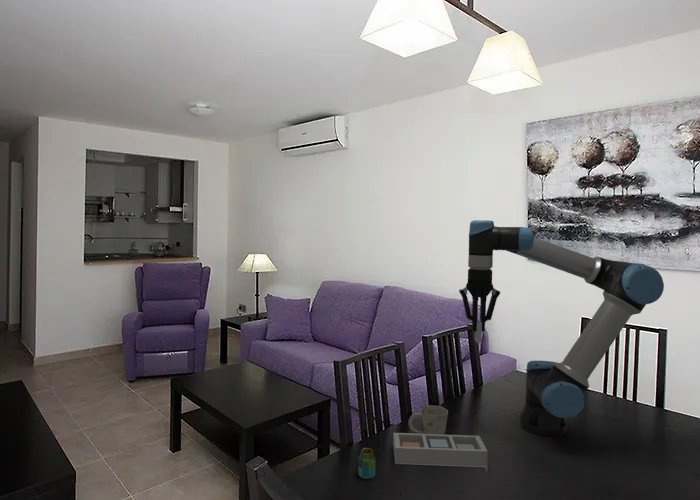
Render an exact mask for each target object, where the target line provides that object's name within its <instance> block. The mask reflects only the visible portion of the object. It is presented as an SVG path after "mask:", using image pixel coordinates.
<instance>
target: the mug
mask: <svg viewBox="0 0 700 500" xmlns="http://www.w3.org/2000/svg"><path fill="white" fill-rule="evenodd" d="M448 416H449V411H448V409H447V408H445V407H443V406H440V405H426V406H423V407H422V408H421V412H417V413H415V412H414V413H412V414H411V415H410V417H409V418H408V421H407V422H408V427H409V429H410V430H412V432H414V434H441V435H446V430H447V423H448ZM416 418H422V426H423V430H417V429H416V428H415V427H414V425H413V421H414V419H416Z"/></svg>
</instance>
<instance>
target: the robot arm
mask: <svg viewBox="0 0 700 500" xmlns="http://www.w3.org/2000/svg"><path fill="white" fill-rule="evenodd" d="M534 236H535V235H534V231H533V229H532V228H531V227H526V226H525V227H524V226H495V222H494V221H493V220H485V219H484V220H481V219H479V220H477V219H476V220H472V221H470V223H469V232H468V260H467V261H468V262H467V264H468V265H467V267H468V269H467V283H466V285H465V287H463V288H461V289H459V291H458V293H459V294H460V295H461V298H462V302H463V303H462V304H463V308H464V312H465V317H466V318H467V319H468V320H469V321H471V330H472V332H474V341H475V342H476V343H478V344H479V343H482V335H483V334H482V333H485V330H486V323H487V321H491V320H492V318H493V314H494V310H495V307H496V303H497V300H498V298H499V296H500V295H501V291H499V290H497V289H496V288H494V284H493V270H492V268H493V267H494V265H493V261H494V257H493V256H494V251H506V252H509V253H511V254H515V255H517V256H521V257H524V258H526V259H529V260H532V261H534V262H538V263H539V264H542V265H545V266H547V267H550V268H554V269H557V270H558V271H562V272H565V273H567V274H569V275H570V274H571V275H573V276H575V277H579V278H581V279H583V280H584V281H585V283H587V284H589V285H591V286H594V287H596V288H599V289H601V290H602V291H603V292H602V295H603V301H602V303H601V304H600V306H599V307H598V309H597V310H596V312H595V313H594V314H593V316H592V317H591V319H590V320H589V322H588V323H587V325H586V326H585V328H584V329H583V331H582V332H581V333H580V335H579V337H578V338H577V339H576V341H575V343H574V344H573V345H572V347H571V348H570V350H569V351H568V353H567V354H566V356H565V357H564V358H563V360H562V361H561V362H557V361H556V362H555V361H549V360H529V361H528V362H527V363H526V369H525V371H526V375H525V376H526V378H525V404H524V406H523V408H522V411H521V414H520V415H519V422H518V423H519V426H520V427H521V428H522V429H524V431H527V432H529V433H533V434H535V435H538V436H544V437H560V436H563V435H565V434H566V433H567V422H566V419H568V418H573V417H575V416H577V415H579V414H580V413H581V411H582V410H584V409H583V408H584V407H585V403H586V400H585V393H586V392H587V391H588V389H589V388H590V384H589V378H590V377H591V375H592V374H593V372H594V371H595V369H596V368H597V366H598V365H599V363H600V362H601V361H602V358H604V356H605V355H606V353H607V352H608V350H609V349H610V348H611V346H612V344H613V343H614V341H616V338H617V337H618V336H619V335H620V333H621V332H622V330H623V328H624V327H625V326H626V324H627V323H628V321H629V320H630V318H631V317H632V316H633V315H638V314H641V313H642V311H643V310H644V309H645V307H646V305H651V304H653V303H655V302H657V301H658V300H659V299H660V298H661V297H662V295H663V292H664V290H665V289H664V288H665V283H664V279H663V277H662V275H661V273H660V272H659V271H658V270H657V269H656V268H655V267H653V266H649V265H647V264H644V263H640V262H638V263H637V262H628V261H621V260H620V261H619V260H612V259H607V258H604V257H600V256H594V257H591V256H588V255H586V254H583V253H580V252H577V251H573V250H571V249H568V248H565V247H562V246H561V245H560V246H559V245H557V244H554V243H551V242H548V241H546V240H543V239H540V238H537V237H534ZM468 293H469V294H470V295H471V299H472V302H471V308H470V303H469V298H468ZM490 294H491V296H490V299H489V304H488V307H487V300H488V299H487V297H488V296H489V295H490ZM479 300H480V306H478V305H479ZM479 307H480V309H479ZM478 309H479V320H478Z"/></svg>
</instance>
